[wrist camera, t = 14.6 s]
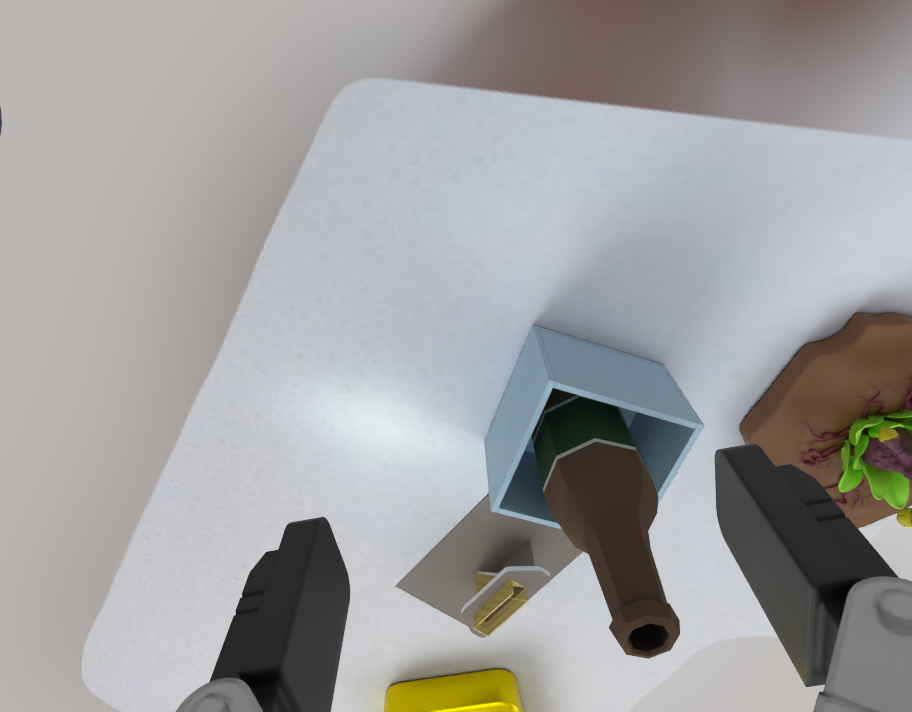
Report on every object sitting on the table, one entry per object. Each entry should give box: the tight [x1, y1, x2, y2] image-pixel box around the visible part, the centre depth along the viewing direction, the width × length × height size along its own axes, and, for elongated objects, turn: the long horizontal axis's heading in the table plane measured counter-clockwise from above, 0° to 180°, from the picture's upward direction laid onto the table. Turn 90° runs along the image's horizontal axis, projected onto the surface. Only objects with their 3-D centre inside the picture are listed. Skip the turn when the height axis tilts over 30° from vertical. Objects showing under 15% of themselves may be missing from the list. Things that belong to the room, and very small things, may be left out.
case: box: [484, 325, 704, 529], centre depth 52 cm, size 12×12×10 cm
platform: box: [396, 494, 583, 637], centre depth 61 cm, size 12×18×6 cm, turn 142°
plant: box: [739, 313, 912, 528], centre depth 52 cm, size 20×20×11 cm
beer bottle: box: [531, 388, 680, 658], centre depth 45 cm, size 8×8×24 cm
